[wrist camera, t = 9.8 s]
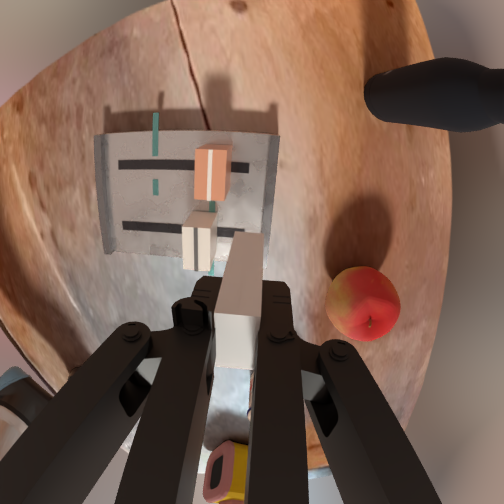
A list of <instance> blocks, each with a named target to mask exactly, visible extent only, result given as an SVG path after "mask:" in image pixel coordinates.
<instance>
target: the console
mask: <svg viewBox="0 0 504 504" xmlns="http://www.w3.org/2000/svg"><path fill="white" fill-rule="evenodd" d="M158 128H159V113H153V130H146V131H127V132H113V133H105V134H99V135H94V158H95V177H96V190H97V201H98V210H99V219H100V227H101V234H102V241H103V247H104V253H105V254H109V255H111V254H112V253H113V252H114V251H115V252H126V253H136V254H147V255H158V256H168V257H179V258H183V249H182V226H183V224H184V223H185V221H186V220H187V218H188V217H189V216H190V214H191V213H192V211H199V212H214V213H218V216H217V251H216V254H215V257H214V260H213V264H212V267H211V270H210V271H208V275H212V276H214V261H225V262H227V260H228V256H229V252H230V248H231V245H232V241H233V237H234V233H235V231H239V232H251V233H264V250H263V269H266V267H267V258H268V249H269V240H270V231H271V222H272V212H273V203H274V193H275V183H276V173H277V163H278V152H279V142H280V136H279V135H278V134H269V133H257V132H243V131H224V130H158ZM205 144H215V145H232V161H231V179H230V190H229V192H228V194H227V196H226V199H225V201H214V200H211V201H207V200H198V199H194V176H195V149H196V148H198V147H200V146H203V145H205Z"/></svg>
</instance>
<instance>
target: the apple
mask: <svg viewBox="0 0 504 504" xmlns="http://www.w3.org/2000/svg"><path fill="white" fill-rule="evenodd" d="M325 306H326V312H327V315H328V317H329V319H330V320H331V322H332V323H333V325H334V326H335V327H336V328H337V329H338V330H339V331H340V332H341V333H343V334H344V335H346V336H348V337H350V338H352V339H355V340H359V341H372V340H375V339H377V338H380V337H382V336H383V335H385V334H387V333H388V332H389V331H390V330H391V329H392V328H393V326H394V325H395V323H396V321H397V319H398V317H399V314H400V308H401V306H400V299H399V296H398V293H397V291H396V289H395V287H394V286H393V284H392V283H391V281H390V280H389V279H388V278H387V277H386V276H384V275H383V274H382V273H380V272H379V271H377V270H376V269H374V268H371V267H368V266H359V267H352V268H348V269H345V270H343V271H342V272H341V273H339V274H338V275H337V276H336V277H335V279H334V280H333V282H332V283H331V285H330V287H329V290H328V292H327V296H326V301H325Z"/></svg>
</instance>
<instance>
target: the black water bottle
mask: <svg viewBox="0 0 504 504" xmlns="http://www.w3.org/2000/svg"><path fill="white" fill-rule="evenodd" d="M364 98H365V102H366V105H367V107H368V109H369V110H370V112H371V113H372V114H373V115H374V116H375V117H377V118H378V119H380V120H382V121H385V122H392V123H401V124H409V125H417V126H424V127H431V128H437V129H443V130H448V131H455V132H471V131H477V130H482V129H485V128H488V127H491V126H494V125H496V124H499V123H502V124H504V69H489V68H486V67H484V66H482V65H479V64H477V63H474V62H471V61H468V60H464V59H458V58H448V57H445V58H438V59H433V60H429V61H424V62H420V63H416V64H412V65H409V66H405V67H401V68H398V69H394V70H391V71H387V72H384V73H381V74H377V75H375V76H373V77H372V78H370V79H369V81H368V82H367V84H366V86H365V90H364Z"/></svg>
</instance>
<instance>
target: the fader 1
mask: <svg viewBox="0 0 504 504" xmlns="http://www.w3.org/2000/svg"><path fill="white" fill-rule="evenodd" d="M231 161H232V145H215V144H205V145H203V146H200V147H198V148H196V149H195V176H194V199H198V200H207V201H211V200H214V201H225V199H226V196H227V194H228V192H229V190H230V179H231Z"/></svg>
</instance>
